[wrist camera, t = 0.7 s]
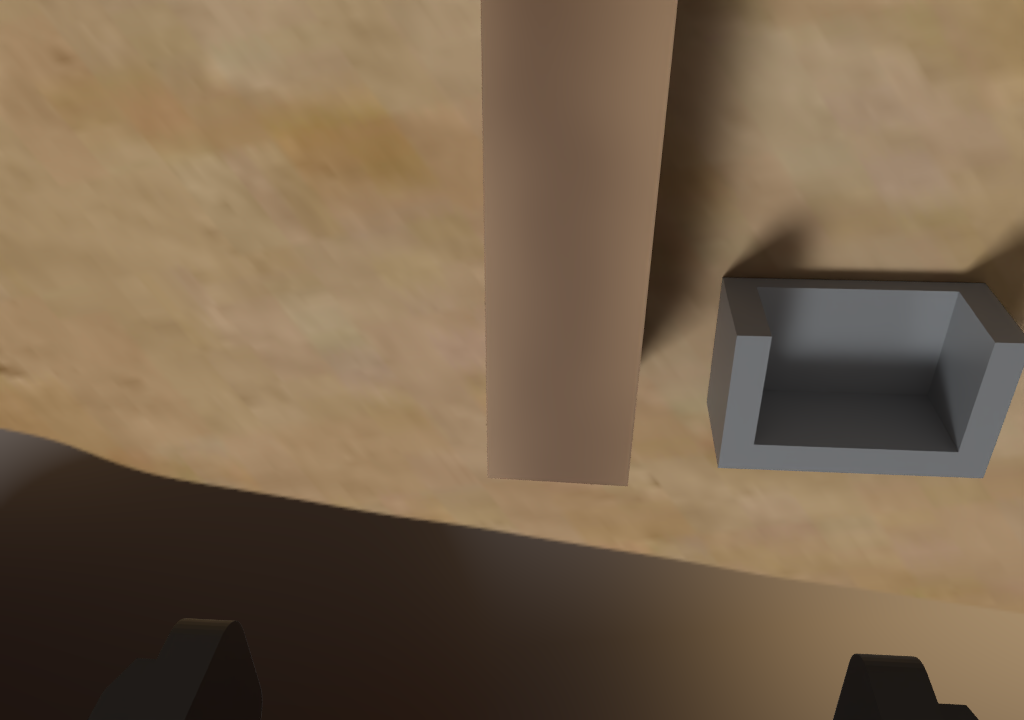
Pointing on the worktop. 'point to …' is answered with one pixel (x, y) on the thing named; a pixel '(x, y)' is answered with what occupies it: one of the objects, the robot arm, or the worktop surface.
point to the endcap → (861, 376)
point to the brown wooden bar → (569, 227)
